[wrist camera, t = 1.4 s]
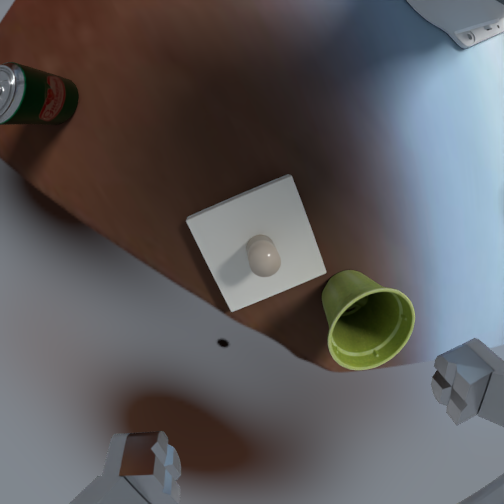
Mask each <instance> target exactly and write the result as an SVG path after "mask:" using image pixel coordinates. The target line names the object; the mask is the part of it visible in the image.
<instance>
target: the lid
mask: <svg viewBox="0 0 504 504" xmlns="http://www.w3.org/2000/svg"><path fill="white" fill-rule="evenodd" d="M186 222H187V224H188V226H189V228H190V230H191V232H192V234H193V236H194V239H195V241H196V243H197V245H198V247H199V249H200V251H201V253H202V255H203V257H204V259H205V261H206V263H207V265H208V267H209V269H210V271H211V273H212V275H213V277H214V279H215V281H216V283H217V285H218V287H219V289H220V291H221V293H222V295H223V297H224V299H225V301H226V302H227V304H228V306H229V308H230V310H231V312H233V311H236V310H238V309H241V308H244V307H246V306H248V305H251V304H253V303H256V302H258V301H261V300H263V299H266V298H268V297H271V296H273V295H275V294H278V293H280V292H283V291H285V290H288V289H290V288H292V287H295V286H297V285H299V284H302V283H304V282H306V281H309V280H311V279H313V278H316V277H318V276H320V275H323V274H325V273H327V272H326V269H325V266H324V263H323V260H322V258H321V255H320V252H319V249H318V246H317V243H316V240H315V237H314V235H313V232H312V229H311V226H310V223H309V221H308V218H307V215H306V212H305V210H304V207H303V204H302V201H301V199H300V196H299V193H298V191H297V188H296V185H295V183H294V180H293V178H292V176H291V175H288V176H285V177H283V178H280V179H278V180H275V181H273V182H270V183H268V184H265V185H263V186H261V187H258V188H256V189H253V190H251V191H248V192H246V193H244V194H241V195H239V196H237V197H234V198H232V199H230V200H227V201H225V202H223V203H220V204H218V205H216V206H213V207H211V208H209V209H207V210H204V211H202V212H200V213H198V214H195V215H193V216H191V217H189V218H187V219H186Z"/></svg>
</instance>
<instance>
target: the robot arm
mask: <svg viewBox="0 0 504 504" xmlns="http://www.w3.org/2000/svg"><path fill="white" fill-rule="evenodd" d="M407 2H408V3H409V4H410V5H411V6H412V7H413V8H414V9H415V10H416V11H417V12H418V13H419V14H420V15H421V16H422V17H424V18H425V19H426V20H427V21H429V22H430V23H432V24H433V25H435V26H437V27H438V28H440V29H442V30H443V31H445V32H446V33H448V35H449V36H450V37H451V38H452V39H453V40H454V41H455V42H456V43H457V44H458V45H459V46H460V47H461V48H464V49H465V48H468V47H471V46H473V45H475V44H477V43H479V42H481V41H484V40H486V39H488V38H490V37H493V36H495V35H497V34H500V33H502V32H504V0H407ZM434 367H435V368H436V369H437V371H436V372H435V374H434V375H433V377H432V383H431V386H432V390H433V394H434V396H435V398H436V400H437V401H438V402H439V403H440V404H443V405H446V406H447V412H446V413H447V414H448V415H449V416H450V418H451V419H452V420H453V422H454V423H455V424H456V425H459V424H461V423H463V422H465V421H467V420H468V419H470V418H472V417H474V416H476V415H477V414H478V416H479V417H482V418H484V419H486V420H489V421H491V422H493V423H496V424H498V425H500V426H503V427H504V361H503V360H502V359H501V358H500V357H498V356H497V355H496V354H495V353H494V352H493V351H492V350H490V349H489V348H488V347H487V346H486V345H485V344H484V343H482V342H481V341H480V340H479V339H476V338H474V339H472V340H470V341H468V342H466V343H464V344H462V345H459V346H457V347H455V348H453V349H451V350H449V351H447V352H445V353H443V354H441V355H439V356H437V358H436V359H435V364H434ZM180 476H181V466H180V460H179V457H178V454H177V452H176V450H175V449H174V447H172V446H170V445H168V438H167V436H166V435H165V433H164V432H163V431H157V432H142V433H128V434H114V435H113V437H112V438H111V442H110V445H109V449H108V453H107V457H106V461H105V465H104V469H103V473H102V476H97V477H96V478H95V479H94V480H93V481H92V482H91V483H90V484H89V485H88V486H87V487H86V488H85V489H84V490H83V491H82V492H81V493H80V494H79V495H78V496H76V497H75V499H73V500H72V501H71V502H70V503H69V504H180V486H179V485H178V484H177V483H176V480H177V479H178V478H179V477H180ZM457 504H504V473H503V474H502V475H501V476H499V477H498V478H496V479H495V480H494V481H492V482H491V483H489V484H488V485H486V486H485V487H483V488H482V489H480V490H479V491H477V492H475V493H474V494H472V495H471V496H469V497H468V498H466V499H464V500H462V501H461V502H459V503H457Z"/></svg>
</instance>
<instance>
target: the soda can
mask: <svg viewBox="0 0 504 504" xmlns="http://www.w3.org/2000/svg"><path fill="white" fill-rule="evenodd" d="M78 99H79V95H78V90H77V87H76V85H75V84H74V83H73V82H72V81H71V80H69V79H66V78H63V77H60V76H57V75H54V74H51V73H47V72H44V71H41V70H38V69H34V68H31V67H28V66H24V65H21V64H17V63H13V62H8V63H4V64H2V65H0V125H9V124H42V125H57V124H61V123H63V122H65V121H67V120H68V119H69V118H70V117H71V116H72V114H73V113H74V111H75V110H76V107H77V104H78Z"/></svg>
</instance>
